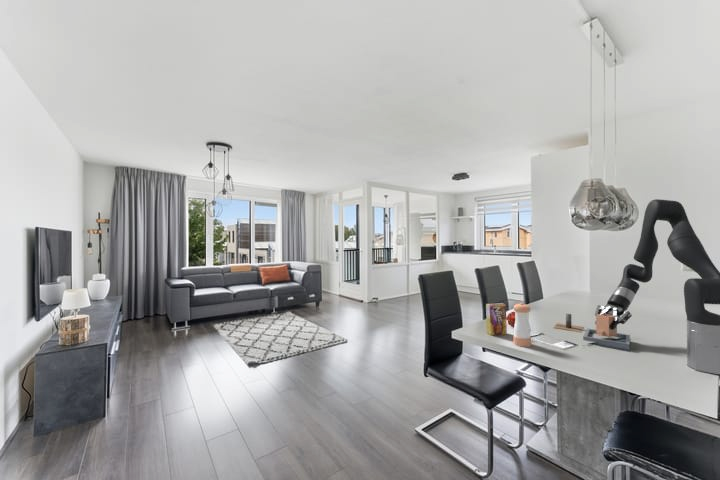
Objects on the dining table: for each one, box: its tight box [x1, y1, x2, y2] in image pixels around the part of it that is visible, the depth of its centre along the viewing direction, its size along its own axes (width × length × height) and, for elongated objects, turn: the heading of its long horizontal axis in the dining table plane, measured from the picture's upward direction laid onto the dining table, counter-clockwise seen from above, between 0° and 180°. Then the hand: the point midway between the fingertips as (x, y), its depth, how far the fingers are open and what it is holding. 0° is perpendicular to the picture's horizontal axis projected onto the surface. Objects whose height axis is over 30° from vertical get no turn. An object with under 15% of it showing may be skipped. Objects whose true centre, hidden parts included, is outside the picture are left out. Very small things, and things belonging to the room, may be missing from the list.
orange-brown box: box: [595, 313, 618, 338], centre depth 141 cm, size 5×7×9 cm
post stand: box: [553, 313, 585, 334], centre depth 159 cm, size 12×12×8 cm
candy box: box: [485, 302, 508, 336], centre depth 156 cm, size 9×4×15 cm, turn 96°
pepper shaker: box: [512, 302, 532, 348], centre depth 140 cm, size 7×7×19 cm
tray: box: [582, 328, 631, 352], centre depth 141 cm, size 16×16×3 cm
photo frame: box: [530, 332, 579, 350], centre depth 144 cm, size 15×1×18 cm
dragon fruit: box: [506, 311, 515, 327], centre depth 168 cm, size 8×8×12 cm
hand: (603, 326), depth 141 cm, fingers closed on orange-brown box, 5 cm apart
